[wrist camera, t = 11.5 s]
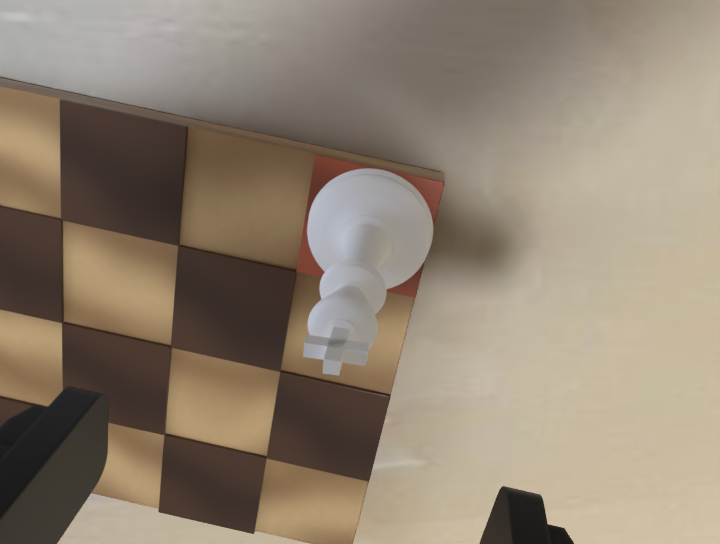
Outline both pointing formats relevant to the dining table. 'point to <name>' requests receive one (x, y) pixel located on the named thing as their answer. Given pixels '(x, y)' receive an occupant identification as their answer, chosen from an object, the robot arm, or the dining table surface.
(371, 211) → the chess piece
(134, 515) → the dining table surface
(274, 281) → the game board
